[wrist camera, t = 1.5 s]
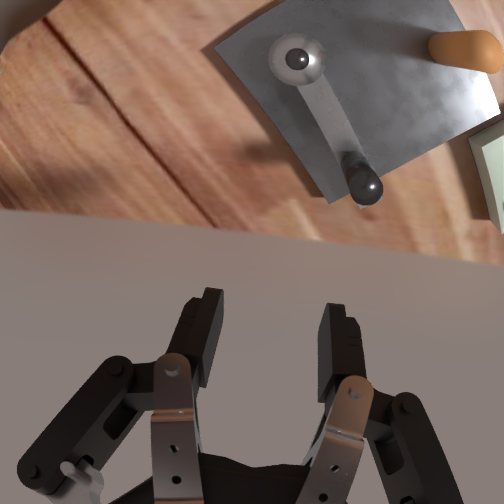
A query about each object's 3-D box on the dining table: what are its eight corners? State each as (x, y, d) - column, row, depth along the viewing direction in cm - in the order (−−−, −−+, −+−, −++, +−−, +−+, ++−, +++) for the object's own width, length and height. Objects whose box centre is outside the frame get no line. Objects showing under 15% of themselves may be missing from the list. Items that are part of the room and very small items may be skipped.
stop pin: (421, 39, 18) (461, 37, 12) (447, 28, 17) (491, 25, 11) (438, 70, 20) (481, 79, 14) (463, 59, 18) (509, 66, 12)
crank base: (217, 48, 23) (213, 48, 22) (404, -49, 14) (409, -54, 13) (327, 197, 30) (329, 204, 29) (492, 109, 21) (500, 112, 20)
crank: (260, 50, 21) (248, 46, 16) (306, 26, 20) (310, 14, 14) (348, 205, 29) (359, 247, 23) (389, 188, 27) (411, 225, 21)
